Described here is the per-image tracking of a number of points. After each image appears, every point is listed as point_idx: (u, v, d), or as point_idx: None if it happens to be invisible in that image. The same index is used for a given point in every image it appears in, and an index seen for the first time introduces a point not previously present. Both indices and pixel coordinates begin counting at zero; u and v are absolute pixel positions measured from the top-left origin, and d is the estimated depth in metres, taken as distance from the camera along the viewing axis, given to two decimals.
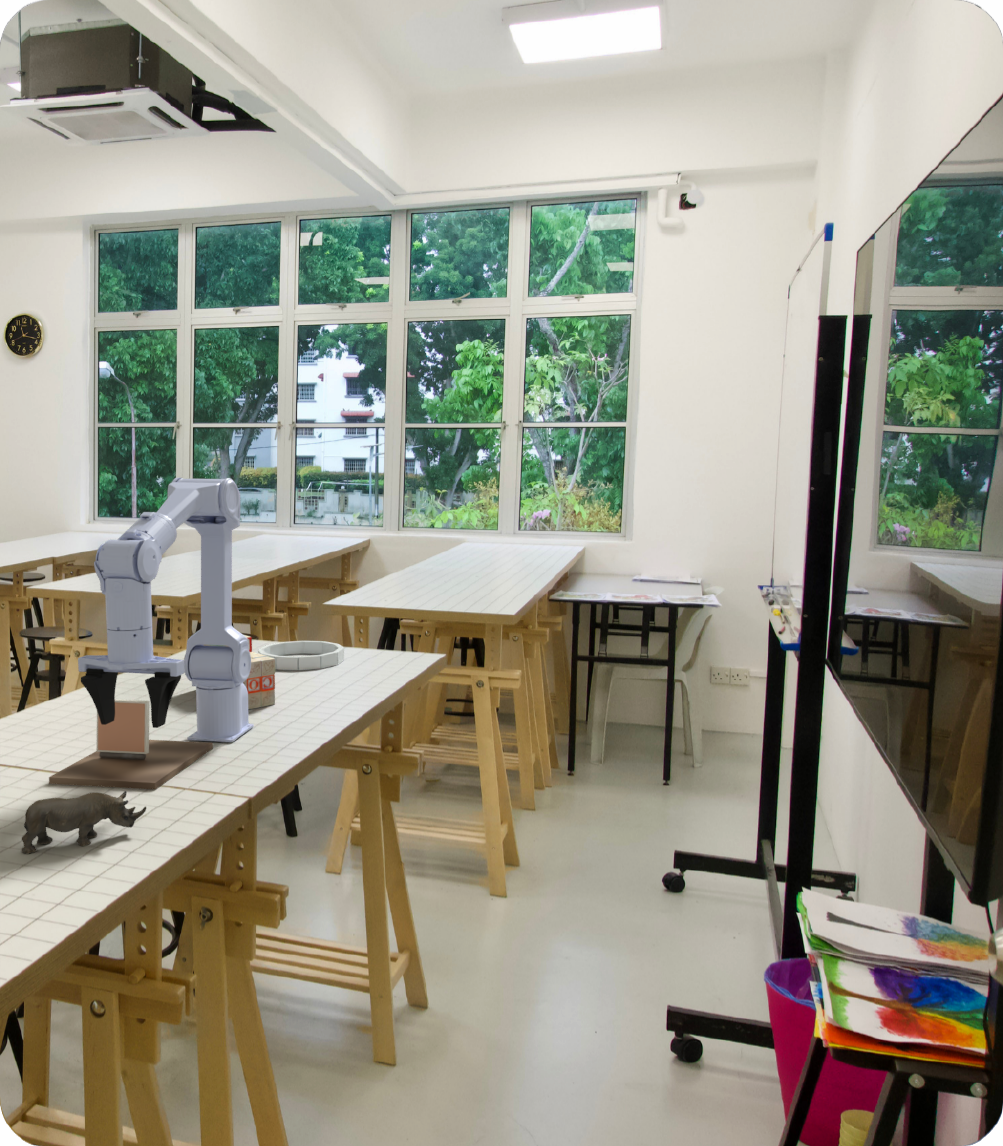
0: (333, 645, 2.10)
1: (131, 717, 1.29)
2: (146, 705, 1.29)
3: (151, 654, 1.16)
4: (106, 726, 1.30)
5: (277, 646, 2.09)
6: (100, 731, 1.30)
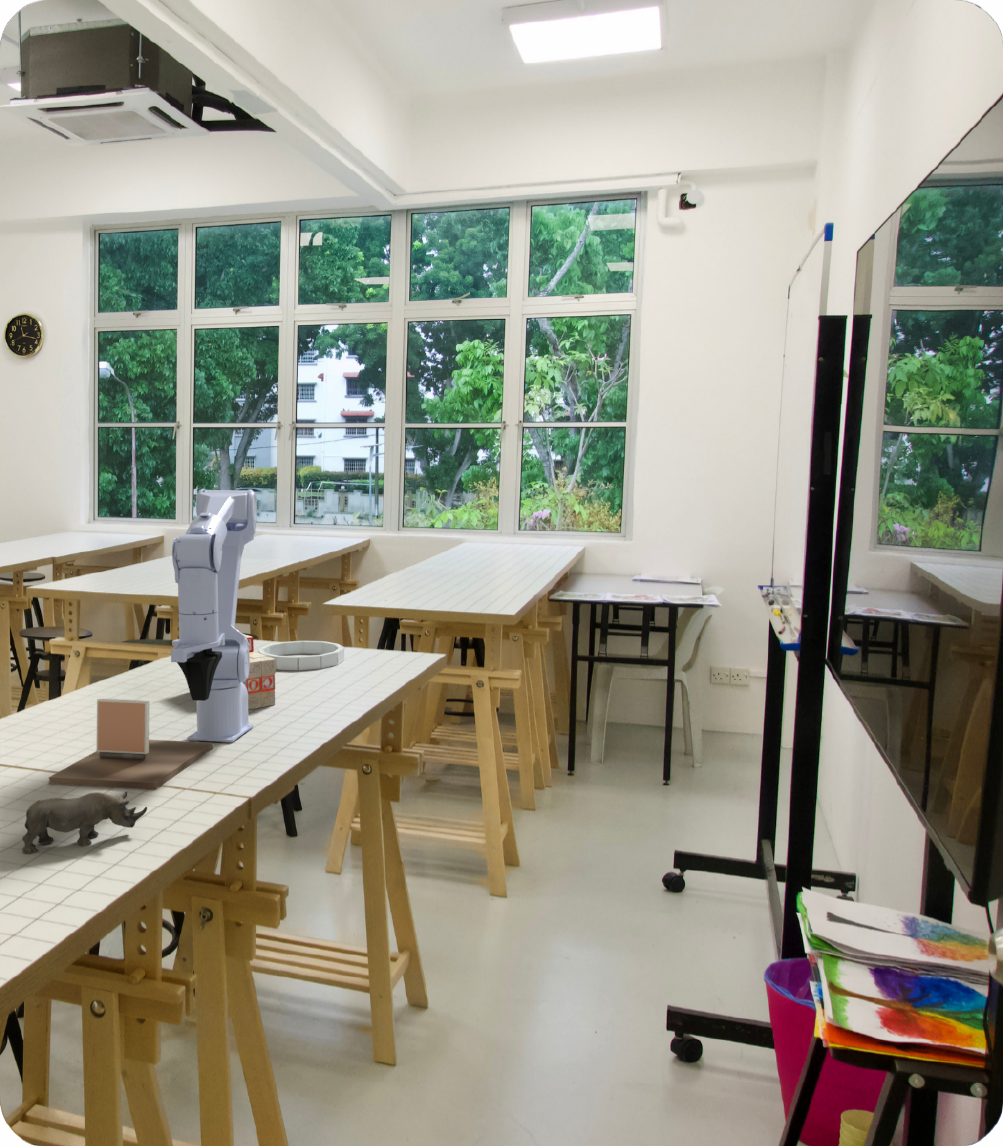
0: (333, 645, 2.10)
1: (131, 717, 1.29)
2: (146, 705, 1.29)
3: (193, 639, 1.27)
4: (106, 726, 1.30)
5: (277, 646, 2.09)
6: (100, 731, 1.30)
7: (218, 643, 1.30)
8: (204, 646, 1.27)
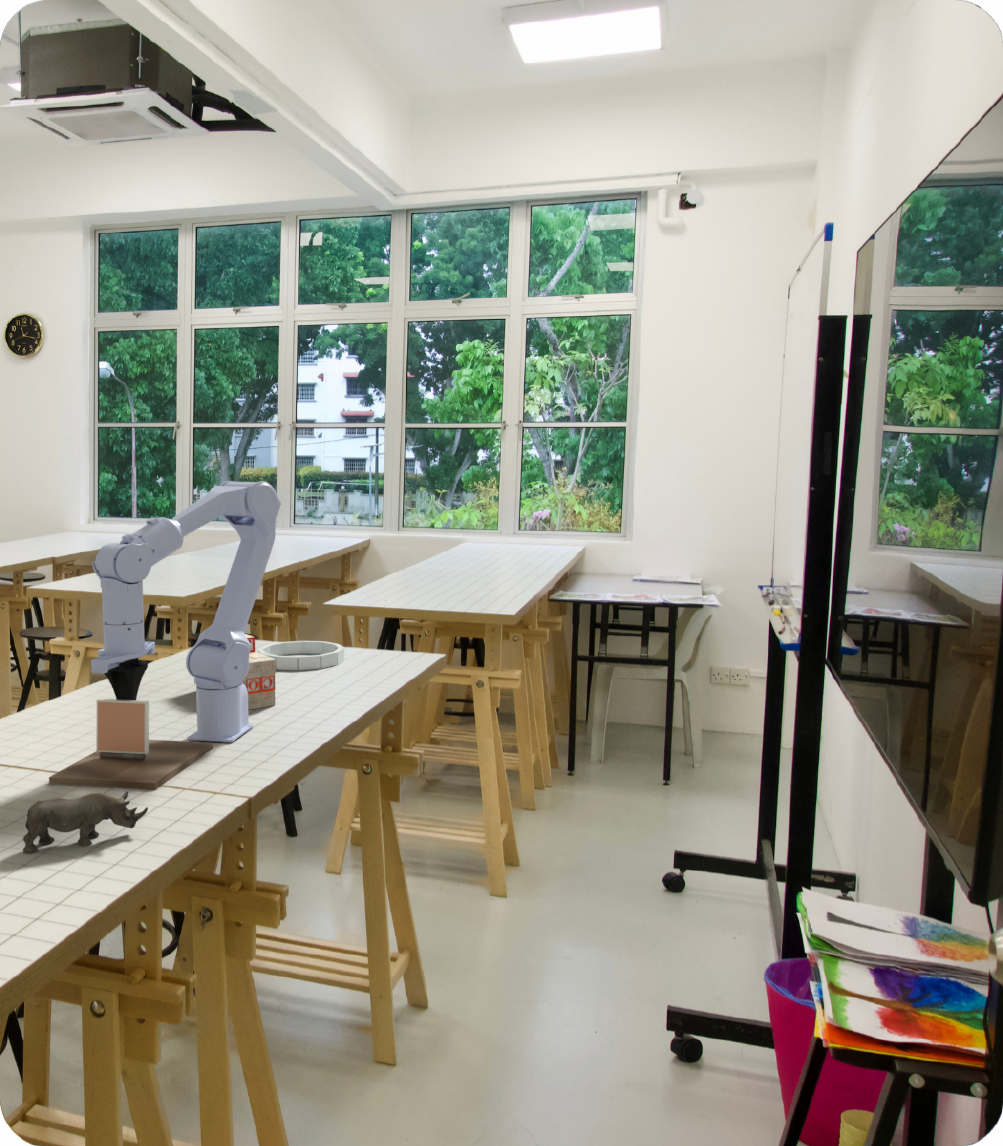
0: (333, 645, 2.10)
1: (131, 717, 1.29)
2: (145, 706, 1.29)
3: (117, 650, 1.27)
4: (106, 726, 1.30)
5: (277, 646, 2.09)
6: (100, 731, 1.30)
7: (143, 653, 1.30)
8: (127, 656, 1.27)
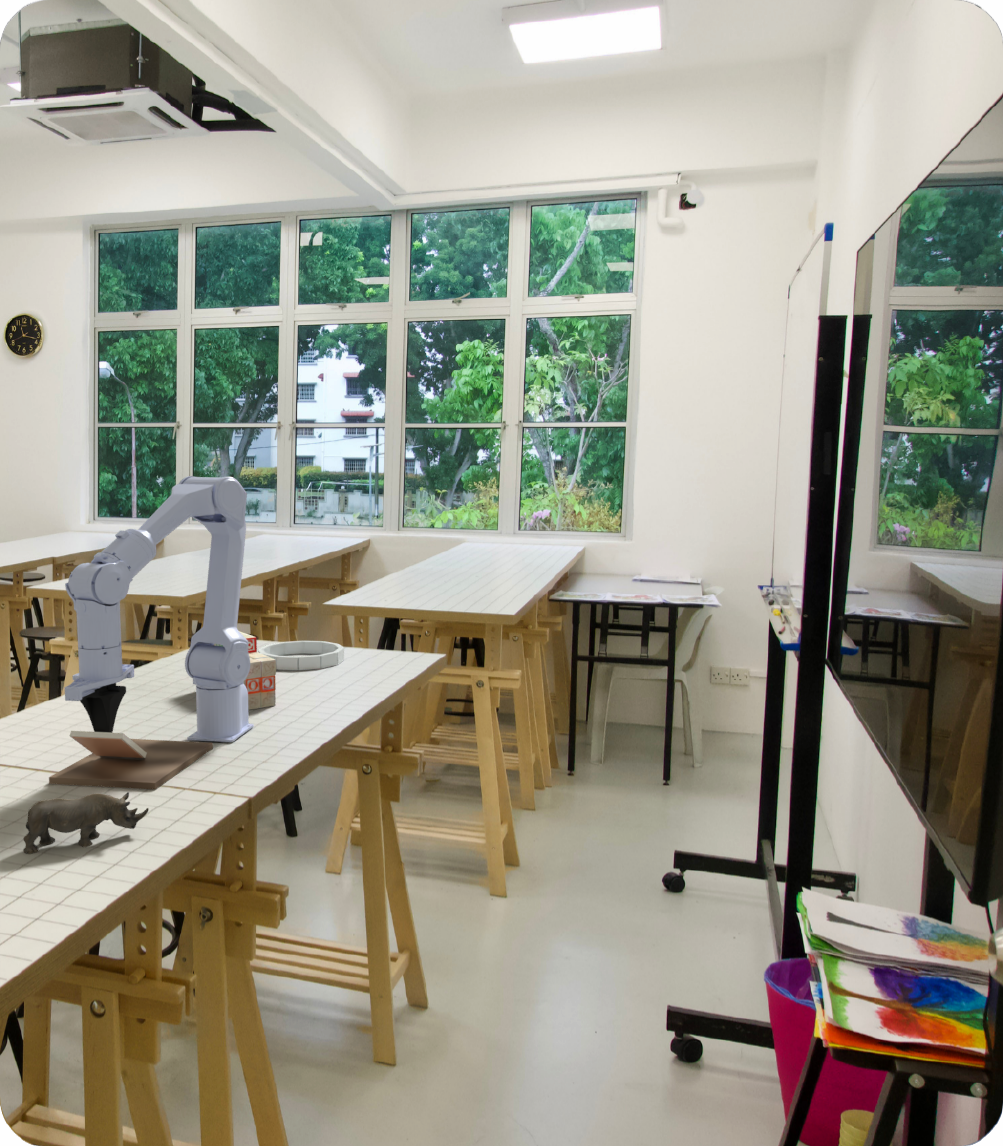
0: (333, 645, 2.10)
1: (113, 743, 1.25)
2: (123, 740, 1.23)
3: (92, 675, 1.21)
4: (93, 747, 1.26)
5: (277, 646, 2.09)
6: (89, 748, 1.27)
7: (121, 678, 1.23)
8: (103, 682, 1.21)
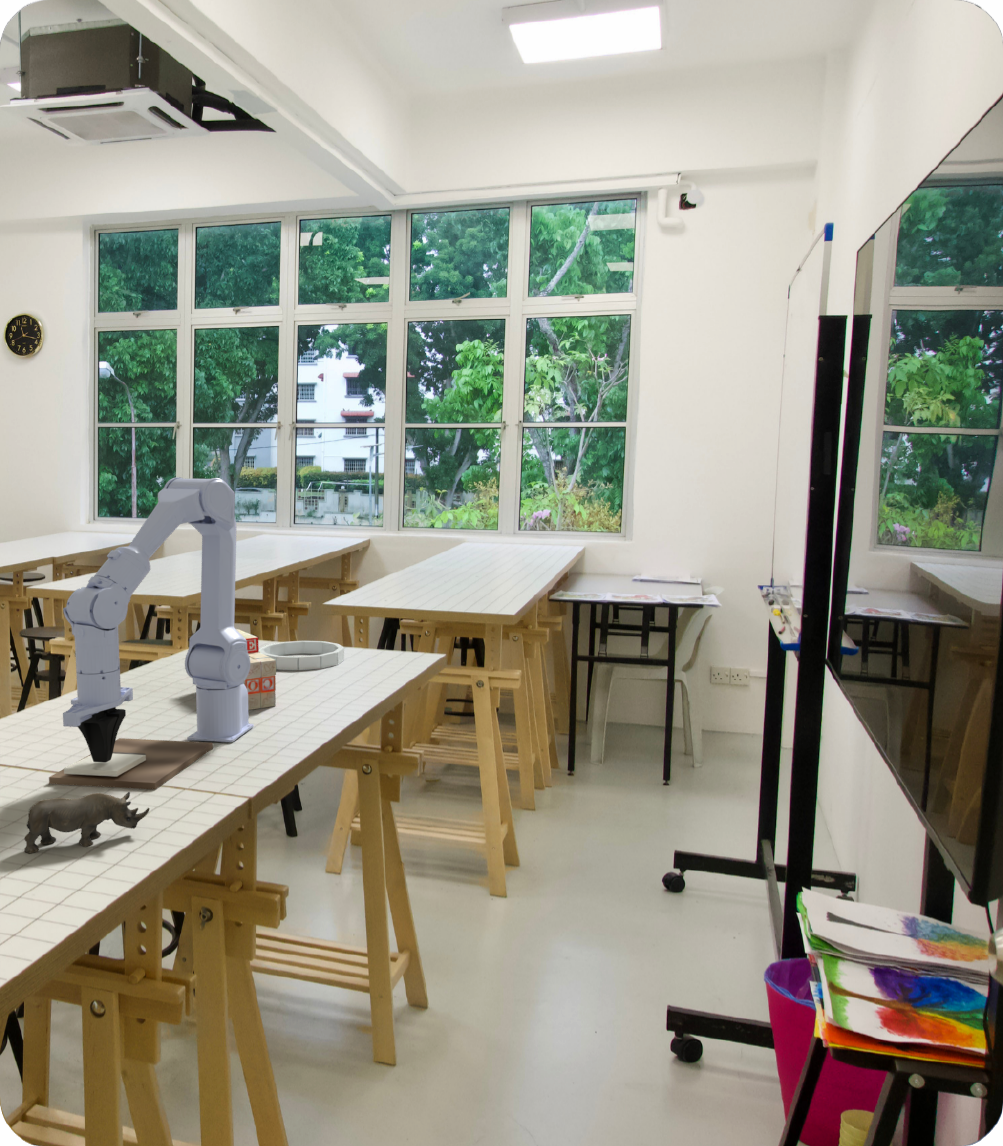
0: (333, 645, 2.10)
1: None
2: None
3: (91, 700, 1.21)
4: None
5: (277, 646, 2.09)
6: None
7: (119, 702, 1.23)
8: (102, 707, 1.20)
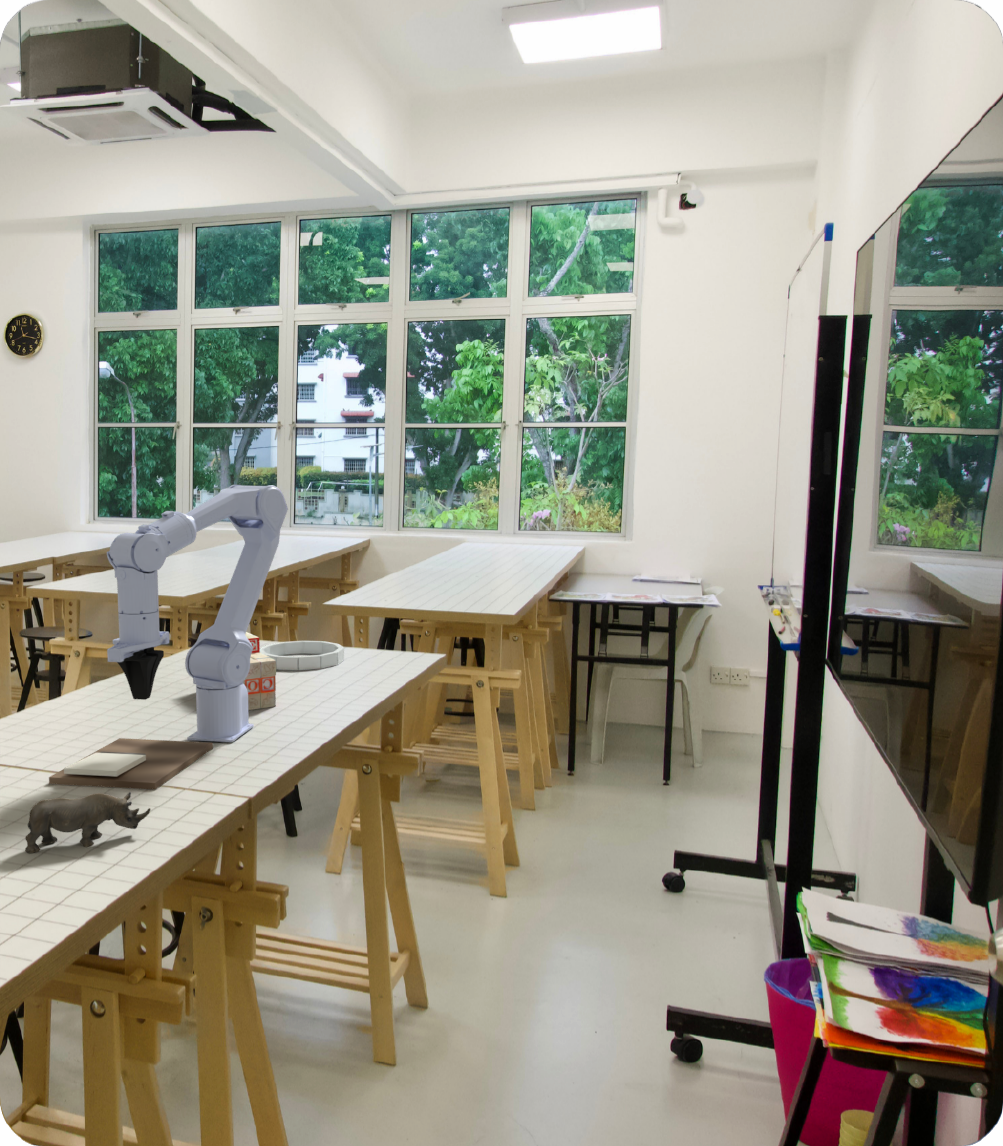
0: (333, 645, 2.10)
1: None
2: (118, 775, 1.22)
3: (132, 639, 1.27)
4: None
5: (277, 646, 2.09)
6: None
7: (158, 642, 1.30)
8: (143, 645, 1.27)
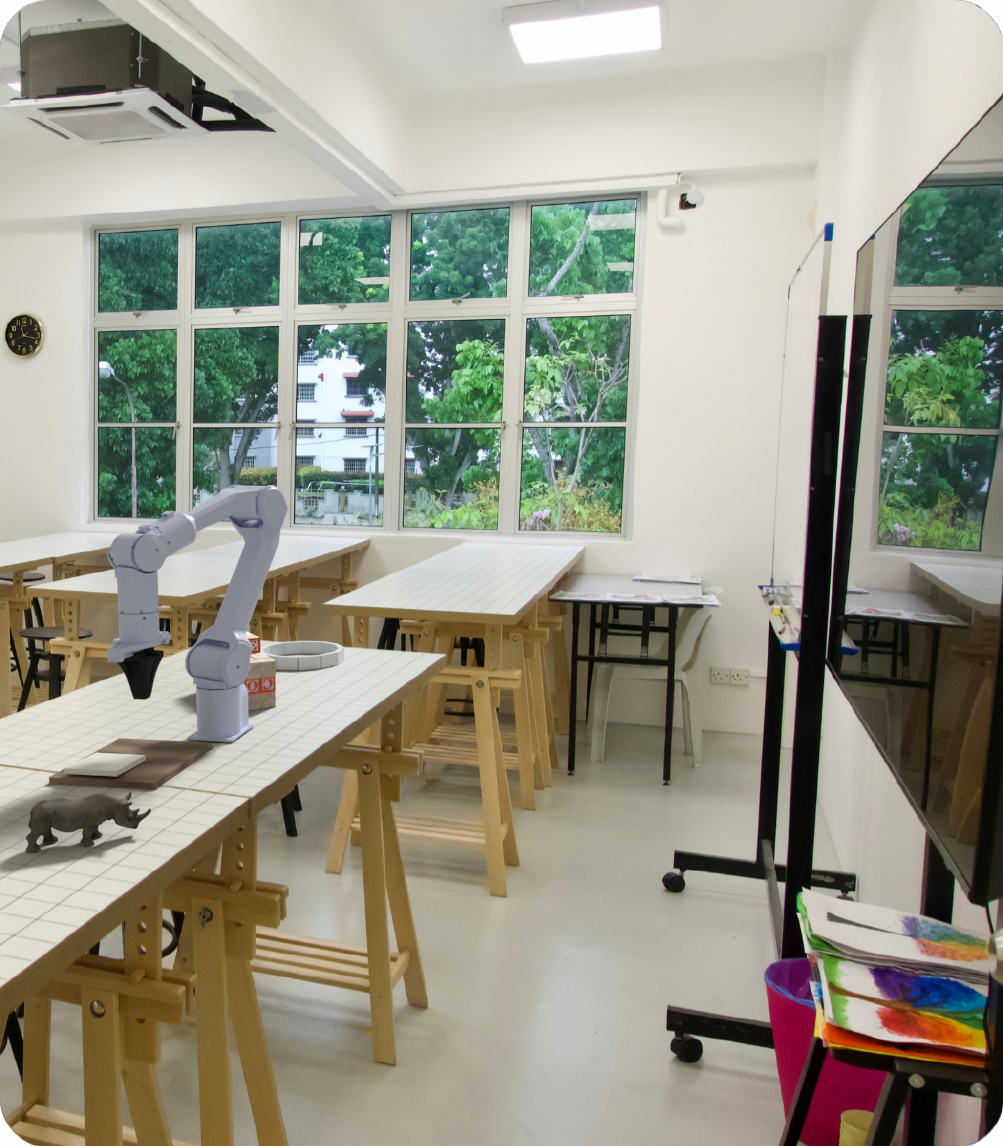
0: (333, 645, 2.10)
1: None
2: (118, 775, 1.22)
3: (132, 639, 1.27)
4: None
5: (277, 646, 2.09)
6: None
7: (158, 642, 1.30)
8: (143, 645, 1.27)
